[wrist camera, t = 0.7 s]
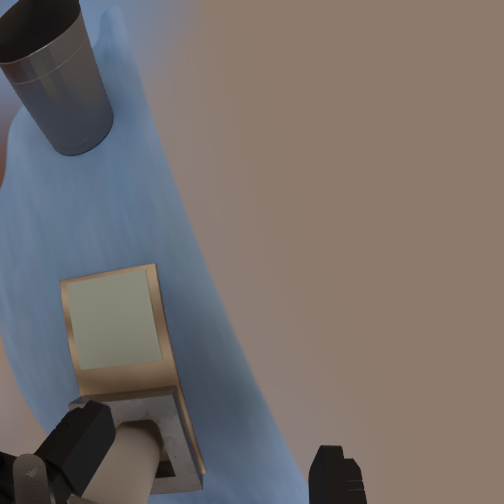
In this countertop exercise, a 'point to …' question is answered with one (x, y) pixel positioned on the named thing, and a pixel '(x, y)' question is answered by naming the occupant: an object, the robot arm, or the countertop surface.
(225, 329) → the countertop surface
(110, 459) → the plug
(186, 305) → the countertop surface
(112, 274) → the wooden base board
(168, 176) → the countertop surface
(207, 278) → the countertop surface
